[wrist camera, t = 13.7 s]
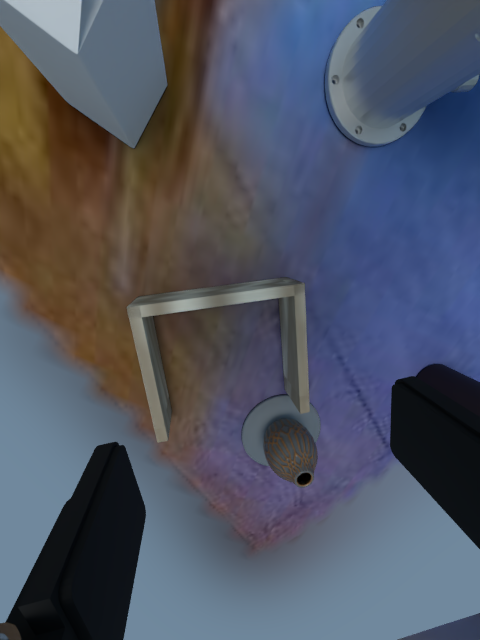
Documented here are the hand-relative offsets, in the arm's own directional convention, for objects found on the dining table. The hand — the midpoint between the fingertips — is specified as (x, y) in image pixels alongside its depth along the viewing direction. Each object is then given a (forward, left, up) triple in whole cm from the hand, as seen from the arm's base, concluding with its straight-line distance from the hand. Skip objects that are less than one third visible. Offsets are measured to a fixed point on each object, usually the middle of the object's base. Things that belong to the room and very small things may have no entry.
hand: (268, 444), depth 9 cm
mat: (-7, +21, -26) cm, 34 cm away
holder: (0, +6, -26) cm, 27 cm away
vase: (-7, +21, -26) cm, 34 cm away
